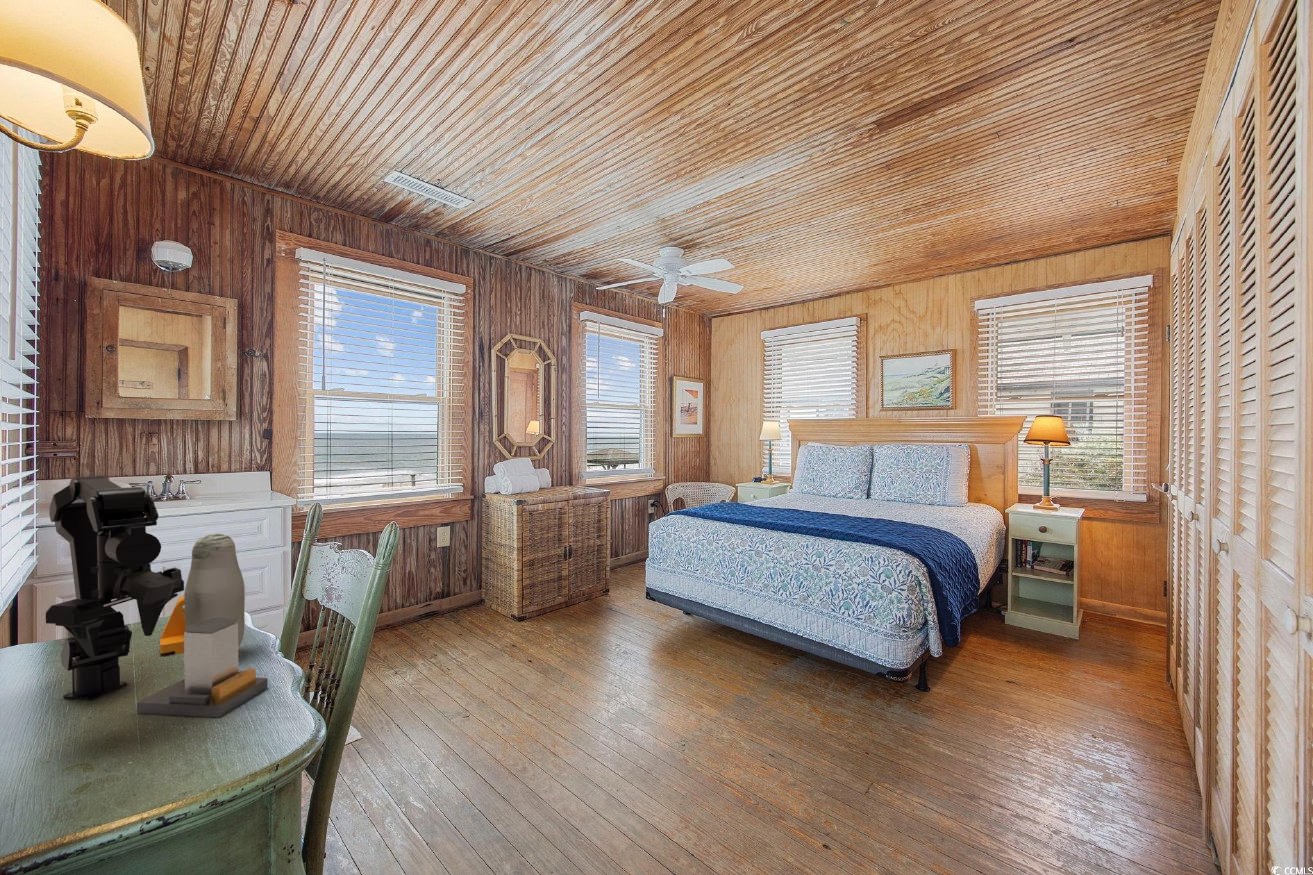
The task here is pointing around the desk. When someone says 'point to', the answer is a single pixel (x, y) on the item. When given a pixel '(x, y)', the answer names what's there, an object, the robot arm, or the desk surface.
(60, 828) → the desk surface
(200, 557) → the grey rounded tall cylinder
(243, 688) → the grey base plate
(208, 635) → the block
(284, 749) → the desk surface
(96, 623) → the robot arm
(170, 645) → the bracket
